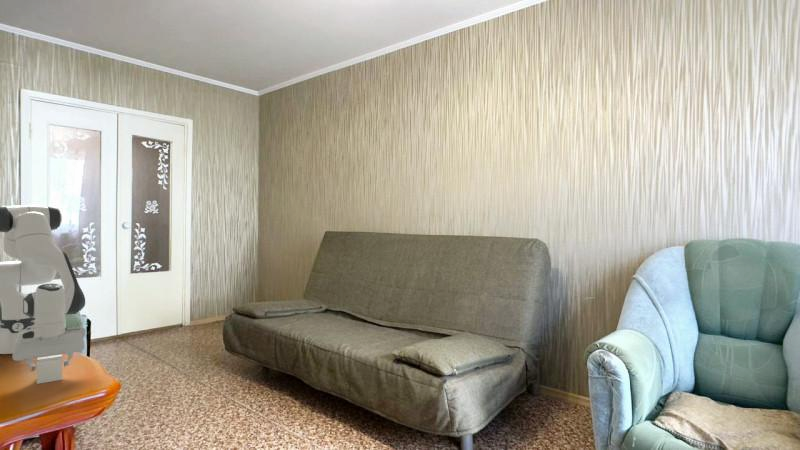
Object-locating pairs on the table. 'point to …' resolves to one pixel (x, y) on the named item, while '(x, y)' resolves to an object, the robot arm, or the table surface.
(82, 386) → the table surface
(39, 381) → the matte ivory cube
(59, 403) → the table surface
